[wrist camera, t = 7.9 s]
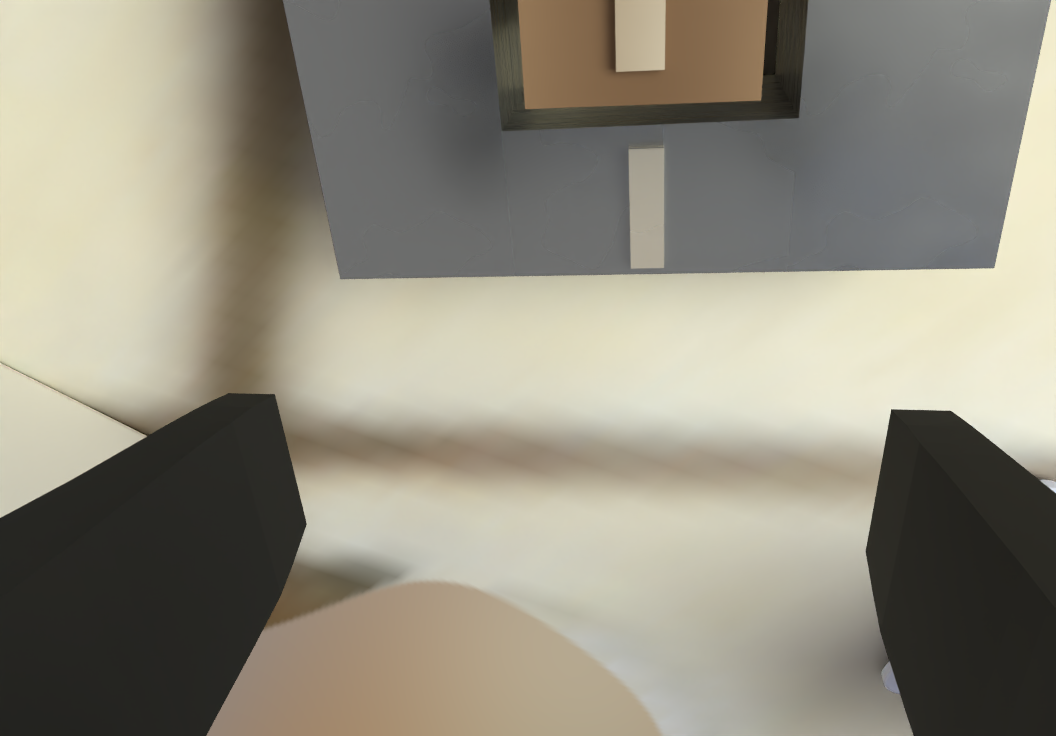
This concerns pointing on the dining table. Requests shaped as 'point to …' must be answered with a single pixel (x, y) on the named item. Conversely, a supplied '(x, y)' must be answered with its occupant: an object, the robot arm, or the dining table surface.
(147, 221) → the dining table surface
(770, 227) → the block with rectangular hole
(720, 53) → the peg
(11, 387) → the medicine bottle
